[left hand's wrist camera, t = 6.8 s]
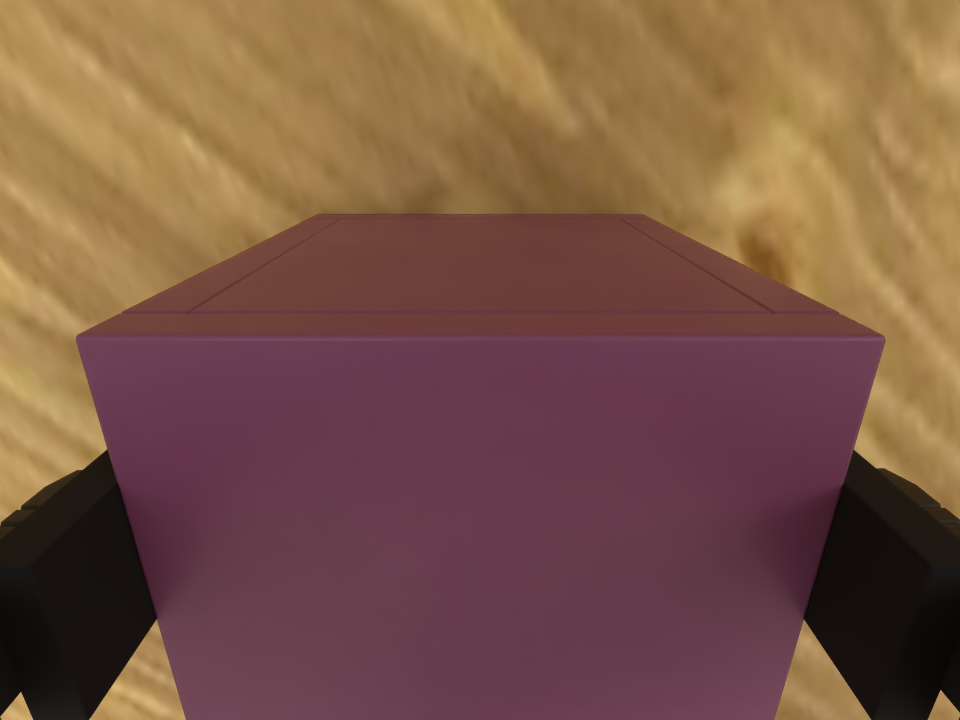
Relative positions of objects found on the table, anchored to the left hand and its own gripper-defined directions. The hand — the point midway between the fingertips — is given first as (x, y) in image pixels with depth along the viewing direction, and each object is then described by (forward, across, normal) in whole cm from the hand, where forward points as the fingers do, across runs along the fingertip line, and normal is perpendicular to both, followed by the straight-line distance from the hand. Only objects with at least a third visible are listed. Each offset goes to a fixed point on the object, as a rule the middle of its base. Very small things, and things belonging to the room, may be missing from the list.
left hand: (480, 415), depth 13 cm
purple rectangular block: (+7, 0, -6) cm, 9 cm away
